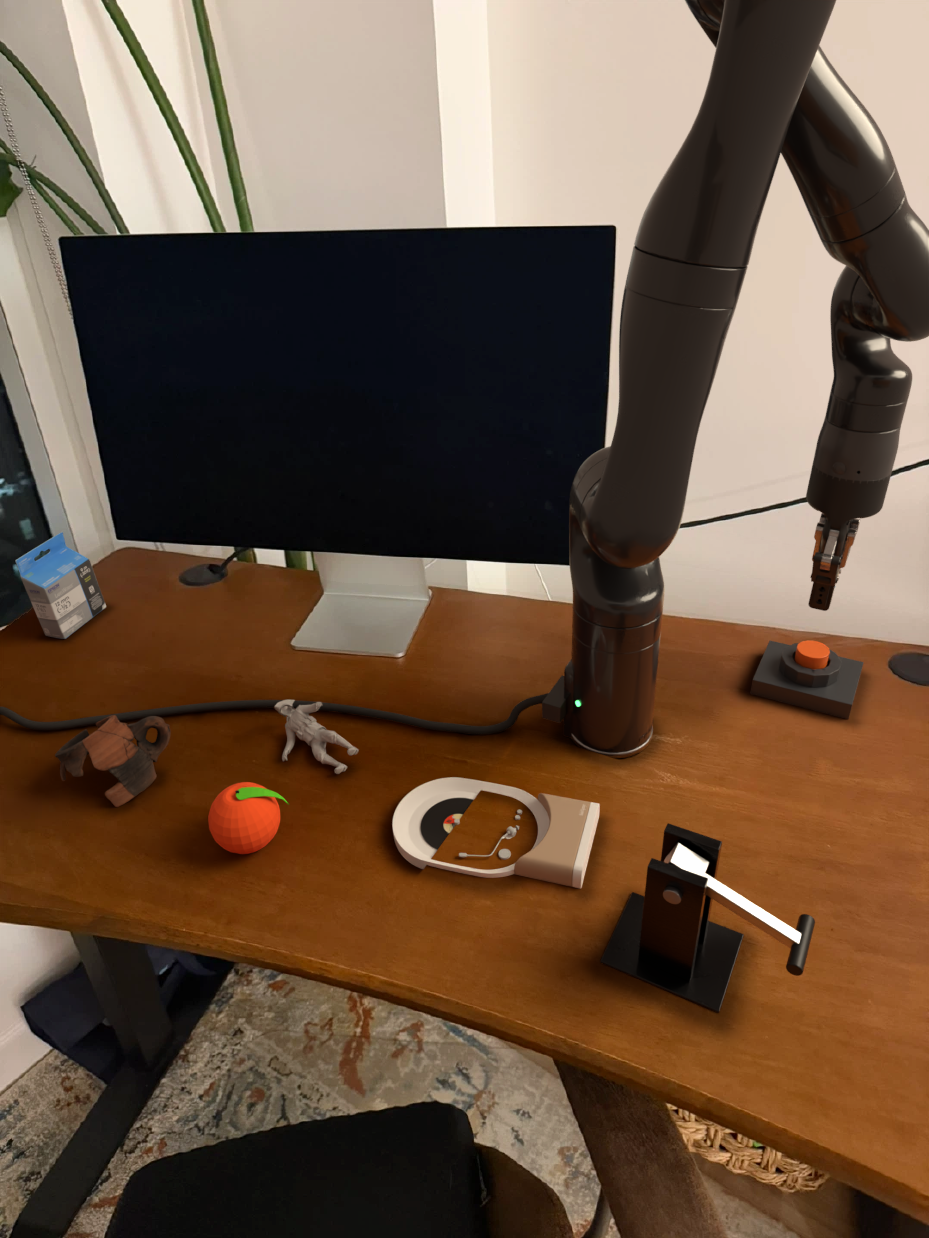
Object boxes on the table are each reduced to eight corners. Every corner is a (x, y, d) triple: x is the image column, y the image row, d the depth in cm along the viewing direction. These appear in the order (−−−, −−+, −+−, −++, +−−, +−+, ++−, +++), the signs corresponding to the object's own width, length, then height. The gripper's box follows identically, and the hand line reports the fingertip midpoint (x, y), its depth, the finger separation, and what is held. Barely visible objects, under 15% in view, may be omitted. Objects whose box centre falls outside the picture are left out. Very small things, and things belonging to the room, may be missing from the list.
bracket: (742, 942, 73) (763, 840, 66) (717, 1020, 67) (738, 917, 60) (631, 899, 77) (640, 799, 70) (599, 969, 72) (605, 867, 65)
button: (791, 665, 100) (794, 653, 99) (797, 649, 102) (800, 637, 101) (824, 673, 98) (826, 661, 97) (829, 656, 101) (832, 644, 100)
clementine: (297, 810, 89) (286, 760, 85) (295, 861, 83) (283, 810, 79) (219, 821, 88) (205, 771, 84) (212, 873, 82) (196, 822, 79)
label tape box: (65, 640, 119) (36, 564, 112) (42, 636, 120) (12, 560, 113) (108, 608, 125) (83, 534, 119) (86, 604, 127) (60, 530, 120)
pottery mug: (92, 829, 89) (44, 767, 87) (93, 806, 98) (49, 749, 95) (193, 760, 92) (148, 698, 90) (185, 744, 101) (144, 687, 99)
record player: (578, 882, 75) (372, 839, 81) (578, 905, 77) (376, 861, 83) (601, 791, 85) (415, 758, 90) (601, 813, 86) (417, 780, 92)
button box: (750, 694, 101) (754, 667, 99) (767, 654, 108) (771, 628, 105) (848, 719, 96) (855, 692, 94) (860, 676, 103) (866, 649, 101)
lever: (806, 930, 67) (822, 916, 65) (793, 981, 63) (810, 968, 62) (670, 845, 69) (683, 829, 68) (651, 889, 66) (663, 874, 64)
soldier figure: (320, 796, 92) (244, 731, 96) (340, 794, 97) (266, 732, 100) (360, 737, 92) (282, 674, 96) (378, 738, 96) (303, 678, 100)
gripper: (885, 494, 80) (845, 644, 90) (899, 446, 90) (862, 586, 99) (802, 481, 83) (772, 627, 93) (824, 435, 93) (795, 572, 102)
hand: (819, 606), depth 96 cm, fingers closed
